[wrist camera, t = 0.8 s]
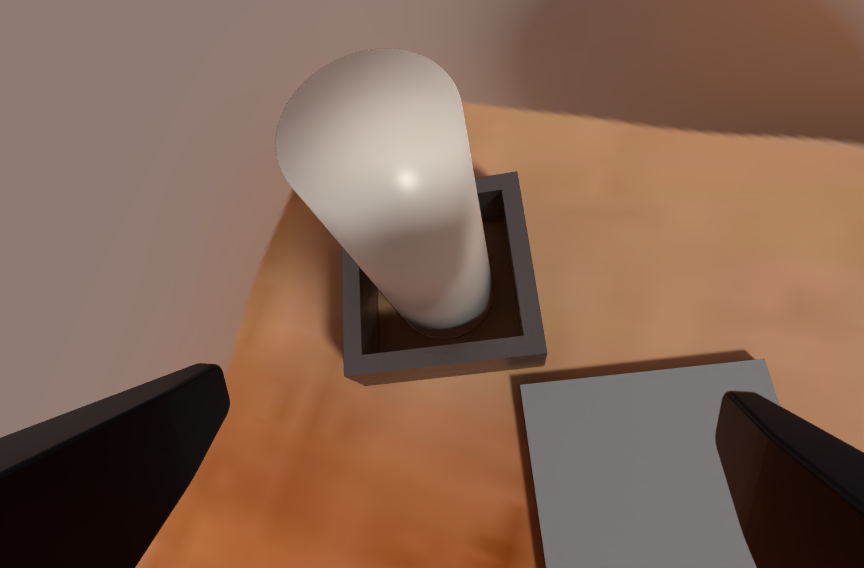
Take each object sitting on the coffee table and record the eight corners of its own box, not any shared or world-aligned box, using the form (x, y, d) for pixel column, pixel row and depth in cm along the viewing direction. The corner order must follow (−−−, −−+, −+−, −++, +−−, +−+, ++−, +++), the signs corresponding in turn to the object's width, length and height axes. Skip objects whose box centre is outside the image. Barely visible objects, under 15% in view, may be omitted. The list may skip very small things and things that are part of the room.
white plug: (499, 332, 23) (474, 194, 11) (400, 344, 24) (272, 226, 12) (486, 240, 25) (452, 31, 13) (394, 253, 25) (278, 68, 13)
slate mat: (847, 642, 17) (857, 648, 17) (558, 652, 19) (559, 658, 18) (757, 361, 21) (764, 358, 20) (520, 386, 22) (519, 384, 21)
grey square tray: (544, 365, 22) (547, 353, 19) (365, 385, 23) (343, 375, 20) (517, 203, 25) (517, 171, 22) (360, 227, 26) (340, 200, 23)
